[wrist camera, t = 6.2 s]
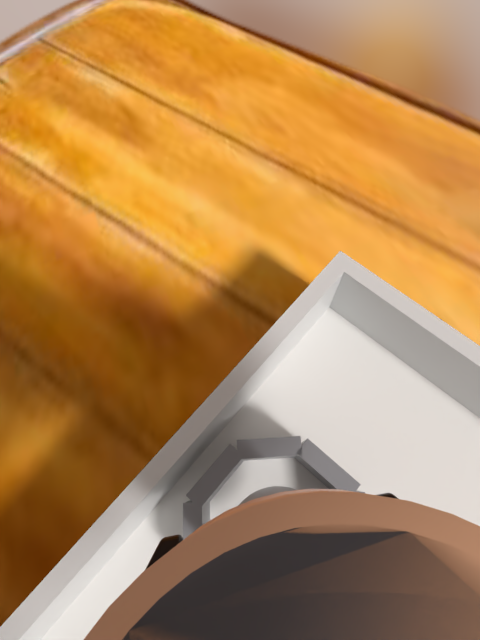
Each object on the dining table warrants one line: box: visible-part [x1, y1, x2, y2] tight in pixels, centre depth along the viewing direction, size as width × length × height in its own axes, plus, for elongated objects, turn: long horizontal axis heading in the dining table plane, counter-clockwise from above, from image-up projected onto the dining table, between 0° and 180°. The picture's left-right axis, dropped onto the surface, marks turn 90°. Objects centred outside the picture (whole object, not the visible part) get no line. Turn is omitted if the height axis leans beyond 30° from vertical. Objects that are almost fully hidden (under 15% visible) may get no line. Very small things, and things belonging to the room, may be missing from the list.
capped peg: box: [84, 486, 480, 640], centre depth 8 cm, size 4×4×13 cm
